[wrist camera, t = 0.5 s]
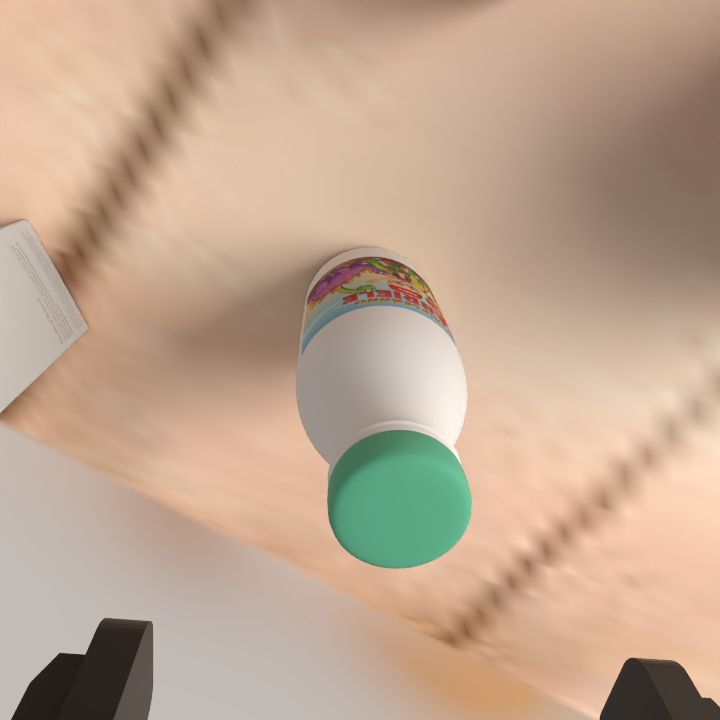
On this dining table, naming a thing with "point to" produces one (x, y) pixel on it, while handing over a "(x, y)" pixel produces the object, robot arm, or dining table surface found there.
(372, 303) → the milk bottle
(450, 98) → the dining table surface
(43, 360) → the supplement box
